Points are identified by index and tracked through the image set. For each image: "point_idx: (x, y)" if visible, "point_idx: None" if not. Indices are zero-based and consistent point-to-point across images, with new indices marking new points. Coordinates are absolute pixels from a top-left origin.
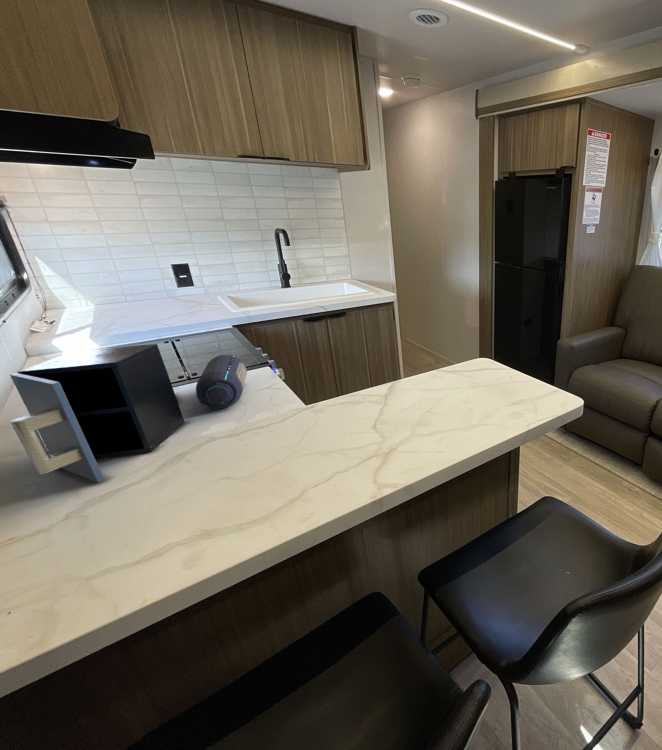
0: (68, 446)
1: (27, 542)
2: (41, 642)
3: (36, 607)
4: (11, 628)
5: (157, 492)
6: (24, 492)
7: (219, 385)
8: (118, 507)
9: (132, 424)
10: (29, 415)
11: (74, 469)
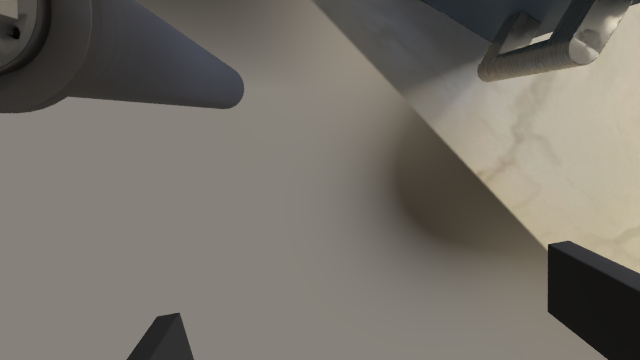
0: (503, 2)
1: (506, 182)
2: None
3: None
4: None
5: (610, 90)
6: (393, 60)
7: None
8: (574, 122)
9: None
10: (591, 21)
11: (448, 9)
